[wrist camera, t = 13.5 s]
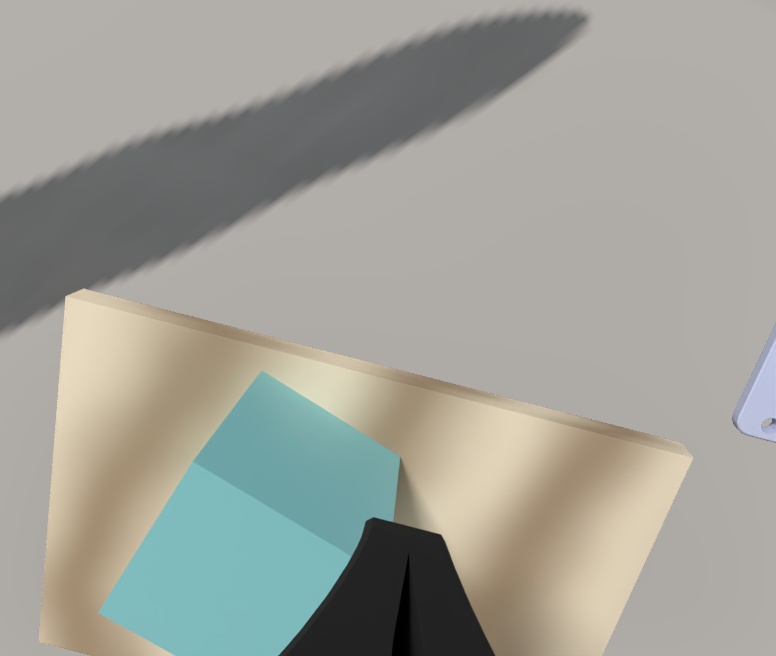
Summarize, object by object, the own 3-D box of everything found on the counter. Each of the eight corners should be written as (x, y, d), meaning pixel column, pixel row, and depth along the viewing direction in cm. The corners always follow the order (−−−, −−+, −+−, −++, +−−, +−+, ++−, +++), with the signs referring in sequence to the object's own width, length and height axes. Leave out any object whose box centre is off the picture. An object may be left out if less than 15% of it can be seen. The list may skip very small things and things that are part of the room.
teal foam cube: (400, 456, 19) (387, 577, 14) (317, 565, 21) (276, 712, 15) (261, 369, 19) (192, 461, 13) (186, 488, 20) (97, 612, 15)
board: (680, 442, 19) (760, 540, 15) (543, 747, 24) (571, 899, 19) (83, 288, 19) (-31, 336, 15) (54, 621, 24) (-41, 742, 19)
